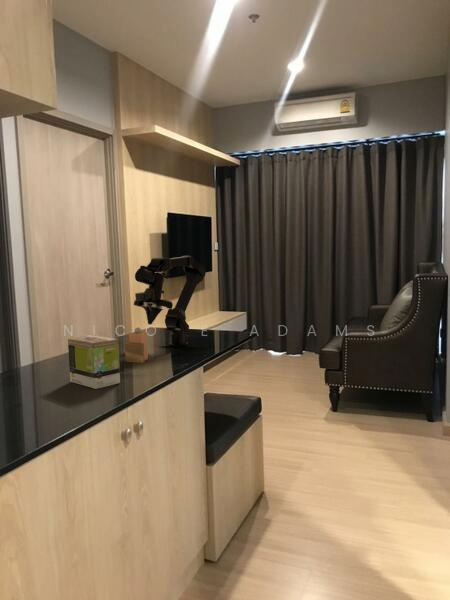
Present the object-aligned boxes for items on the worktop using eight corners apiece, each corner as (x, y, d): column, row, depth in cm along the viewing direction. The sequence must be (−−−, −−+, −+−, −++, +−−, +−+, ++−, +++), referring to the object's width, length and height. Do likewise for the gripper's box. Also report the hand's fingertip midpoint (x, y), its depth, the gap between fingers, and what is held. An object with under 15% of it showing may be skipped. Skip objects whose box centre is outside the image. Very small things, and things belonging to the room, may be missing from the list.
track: (146, 355, 207) (145, 335, 206) (162, 356, 205) (161, 336, 204) (125, 365, 192) (124, 343, 191) (142, 366, 189) (141, 344, 188)
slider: (136, 358, 197) (134, 326, 195) (147, 358, 195) (146, 326, 194) (130, 360, 193) (128, 328, 191) (142, 361, 191) (140, 328, 190)
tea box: (121, 383, 167) (119, 338, 165) (94, 390, 160) (92, 343, 158) (95, 376, 177) (93, 333, 176) (69, 382, 170) (66, 337, 168)
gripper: (126, 283, 215) (120, 320, 213) (155, 282, 203) (148, 322, 200) (147, 288, 223) (141, 324, 221) (176, 288, 211) (170, 326, 208)
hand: (149, 324), depth 213 cm, fingers closed
